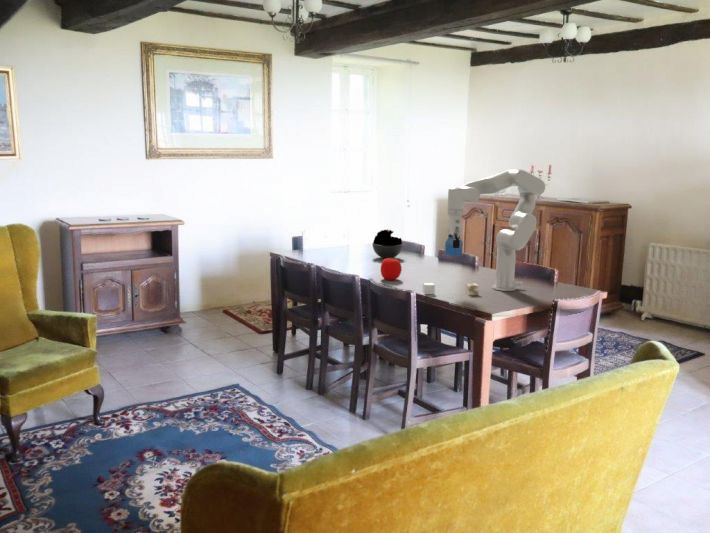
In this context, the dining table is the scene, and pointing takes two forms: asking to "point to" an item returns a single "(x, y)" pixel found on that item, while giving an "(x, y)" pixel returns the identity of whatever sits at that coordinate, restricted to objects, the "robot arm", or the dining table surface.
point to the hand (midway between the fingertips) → (453, 246)
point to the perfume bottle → (449, 247)
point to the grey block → (428, 288)
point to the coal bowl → (387, 244)
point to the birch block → (472, 289)
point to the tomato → (390, 269)
